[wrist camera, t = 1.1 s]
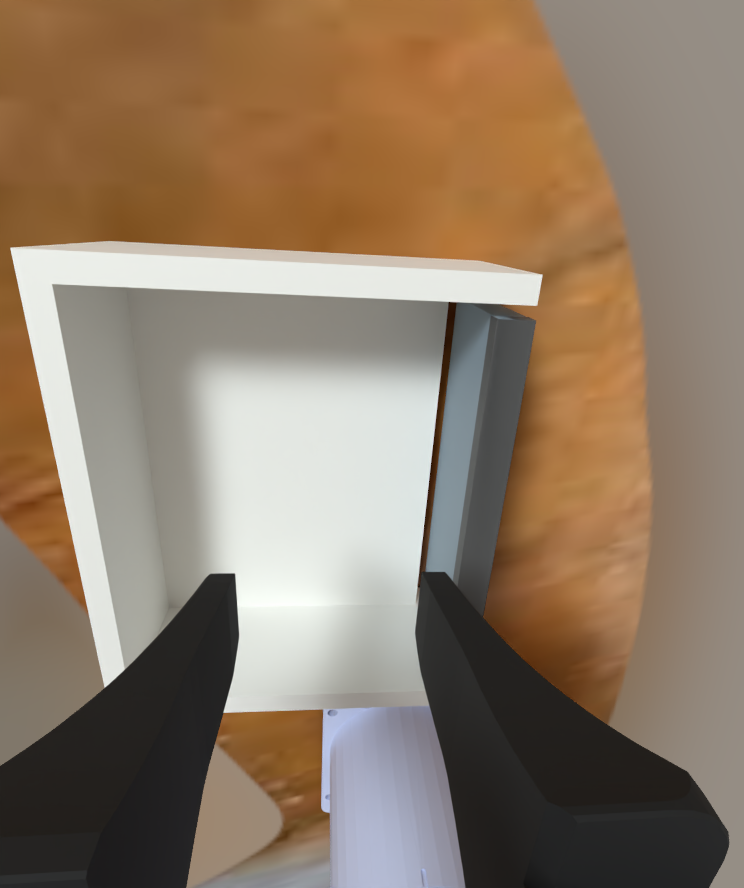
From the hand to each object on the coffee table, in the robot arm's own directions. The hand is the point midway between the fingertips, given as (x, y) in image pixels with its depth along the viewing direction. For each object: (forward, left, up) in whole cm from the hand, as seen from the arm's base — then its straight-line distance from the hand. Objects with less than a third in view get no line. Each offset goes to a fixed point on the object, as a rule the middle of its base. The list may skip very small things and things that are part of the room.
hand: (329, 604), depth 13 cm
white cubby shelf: (0, +1, -9) cm, 9 cm away
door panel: (0, -5, -8) cm, 10 cm away
